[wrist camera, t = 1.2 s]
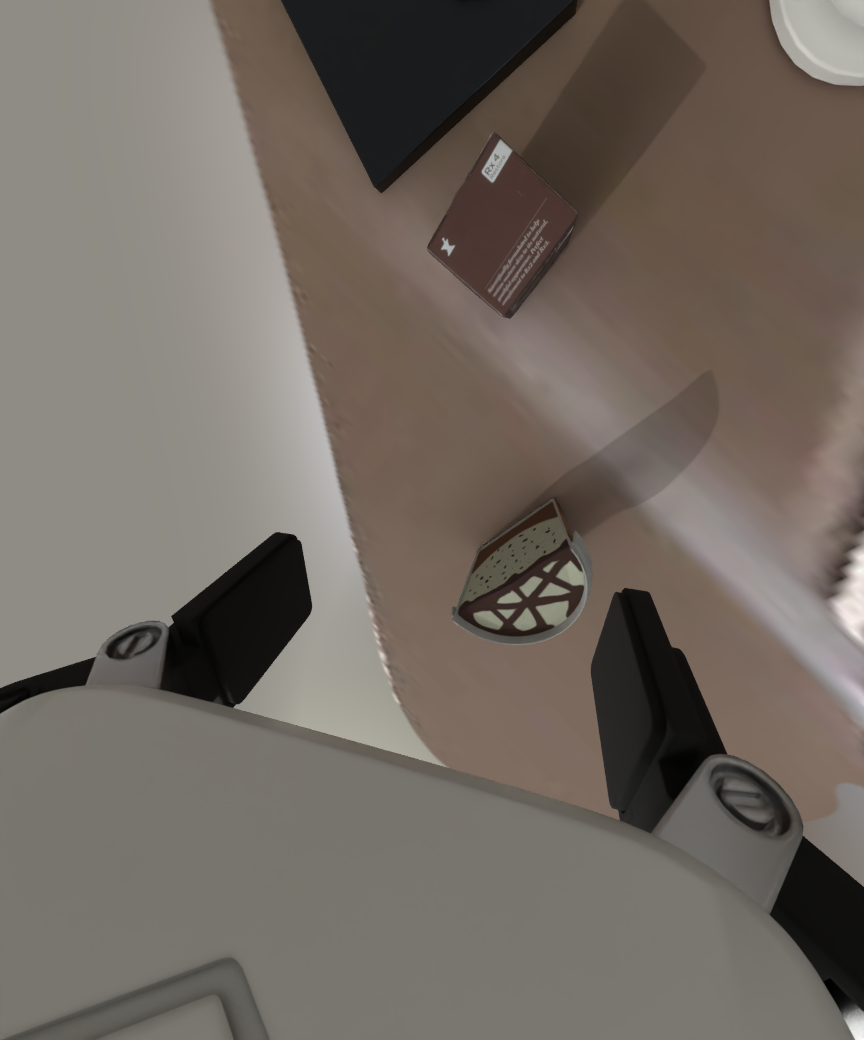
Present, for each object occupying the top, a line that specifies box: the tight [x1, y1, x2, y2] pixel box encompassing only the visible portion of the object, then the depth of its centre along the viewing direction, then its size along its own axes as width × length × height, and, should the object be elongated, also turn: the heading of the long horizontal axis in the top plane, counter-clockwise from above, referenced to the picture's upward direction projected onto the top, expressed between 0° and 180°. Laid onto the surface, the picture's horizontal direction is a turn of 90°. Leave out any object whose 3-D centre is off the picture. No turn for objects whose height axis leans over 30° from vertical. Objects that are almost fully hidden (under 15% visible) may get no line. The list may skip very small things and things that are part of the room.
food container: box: [452, 498, 592, 645], centre depth 32 cm, size 12×6×10 cm, turn 135°
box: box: [427, 132, 578, 319], centre depth 23 cm, size 6×6×7 cm
